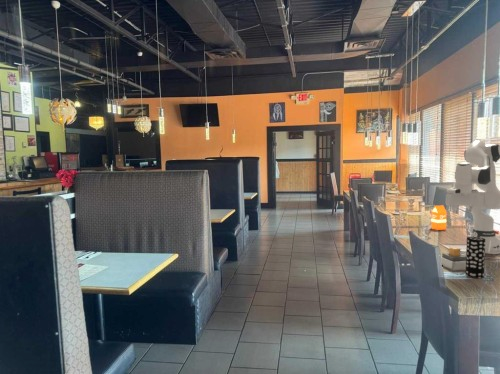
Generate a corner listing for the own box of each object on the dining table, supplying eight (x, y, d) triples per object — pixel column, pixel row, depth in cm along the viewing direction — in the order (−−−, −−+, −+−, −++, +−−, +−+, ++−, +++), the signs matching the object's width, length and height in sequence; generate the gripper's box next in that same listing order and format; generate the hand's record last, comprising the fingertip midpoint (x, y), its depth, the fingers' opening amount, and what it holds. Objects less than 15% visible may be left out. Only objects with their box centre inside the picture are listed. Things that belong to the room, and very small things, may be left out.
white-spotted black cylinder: (477, 273, 202) (478, 236, 200) (487, 278, 194) (489, 240, 192) (462, 273, 202) (463, 236, 200) (471, 278, 194) (473, 240, 192)
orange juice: (446, 229, 319) (446, 205, 317) (437, 229, 316) (438, 206, 315) (439, 227, 326) (440, 204, 324) (430, 228, 324) (431, 205, 322)
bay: (464, 261, 223) (464, 250, 223) (482, 268, 210) (482, 257, 209) (436, 263, 221) (437, 252, 220) (453, 270, 207) (453, 258, 206)
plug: (455, 259, 217) (455, 247, 216) (460, 260, 213) (460, 248, 212) (448, 259, 216) (449, 247, 216) (453, 261, 212) (454, 249, 212)
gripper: (474, 188, 226) (474, 211, 227) (444, 189, 223) (443, 212, 224) (482, 189, 220) (481, 213, 221) (451, 190, 217) (450, 214, 218)
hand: (462, 213), depth 223 cm, fingers open, 8 cm apart
